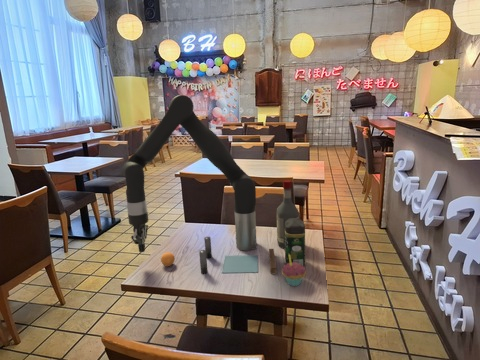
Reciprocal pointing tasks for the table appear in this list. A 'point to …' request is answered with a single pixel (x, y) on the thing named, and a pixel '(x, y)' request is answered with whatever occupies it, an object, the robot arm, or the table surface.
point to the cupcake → (293, 272)
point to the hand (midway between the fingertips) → (142, 251)
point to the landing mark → (240, 264)
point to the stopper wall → (272, 261)
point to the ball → (167, 259)
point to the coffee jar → (295, 241)
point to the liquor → (285, 213)
